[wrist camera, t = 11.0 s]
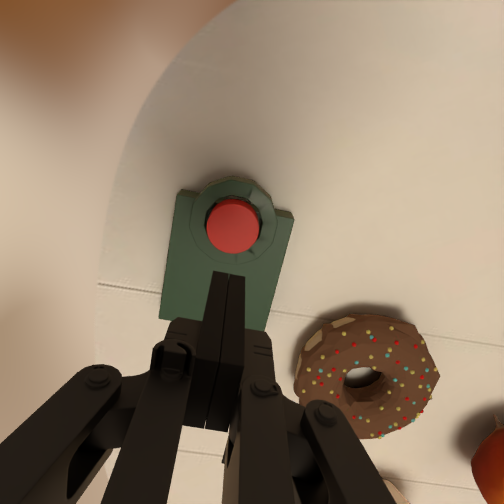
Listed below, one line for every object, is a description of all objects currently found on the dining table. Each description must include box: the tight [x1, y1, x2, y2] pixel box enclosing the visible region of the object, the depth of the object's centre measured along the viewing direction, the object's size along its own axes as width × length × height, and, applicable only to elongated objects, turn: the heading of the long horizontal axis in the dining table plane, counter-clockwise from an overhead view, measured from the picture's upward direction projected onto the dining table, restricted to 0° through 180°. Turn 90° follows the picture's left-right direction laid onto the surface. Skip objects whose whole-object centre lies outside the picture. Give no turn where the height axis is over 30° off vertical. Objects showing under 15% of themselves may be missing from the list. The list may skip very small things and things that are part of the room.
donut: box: [294, 314, 440, 439], centre depth 36 cm, size 14×14×5 cm
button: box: [207, 199, 259, 254], centre depth 29 cm, size 4×4×2 cm
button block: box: [159, 176, 294, 331], centre depth 32 cm, size 14×10×4 cm
